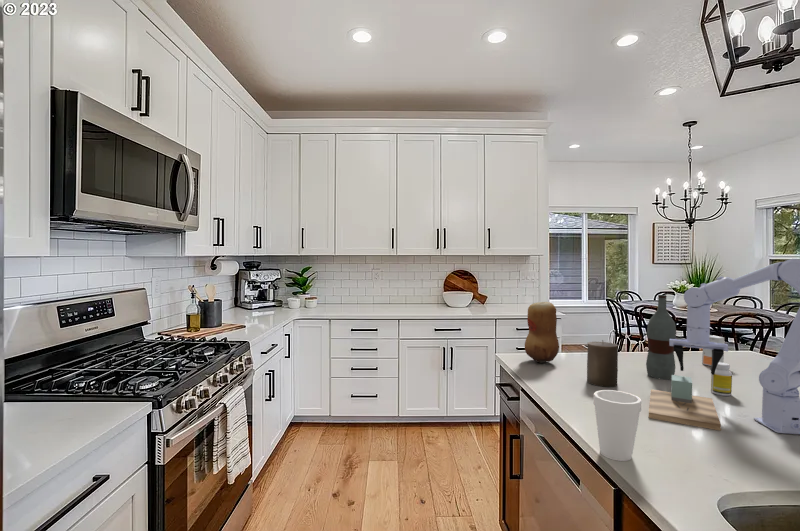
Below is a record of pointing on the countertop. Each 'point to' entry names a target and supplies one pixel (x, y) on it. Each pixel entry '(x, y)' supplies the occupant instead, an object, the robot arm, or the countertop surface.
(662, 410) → the oak board
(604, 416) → the foam cup
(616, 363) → the pillar candle
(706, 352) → the skincare box
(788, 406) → the robot arm
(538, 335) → the butternut squash
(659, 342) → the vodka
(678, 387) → the block
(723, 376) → the supplement bottle
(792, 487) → the countertop surface
